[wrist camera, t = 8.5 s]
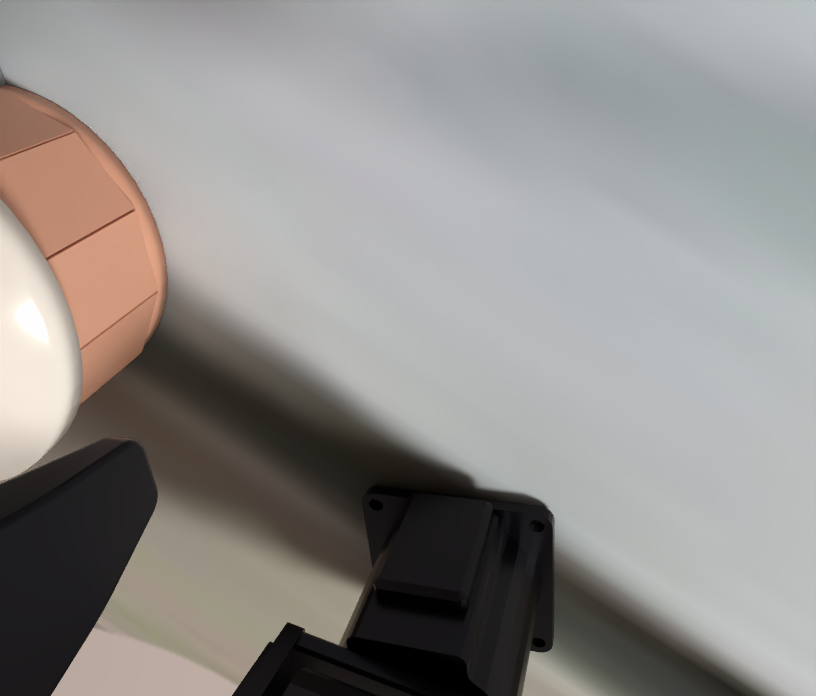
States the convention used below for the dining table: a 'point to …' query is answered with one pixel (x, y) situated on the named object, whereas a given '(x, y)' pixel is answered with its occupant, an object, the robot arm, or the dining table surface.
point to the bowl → (84, 229)
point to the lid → (33, 352)
